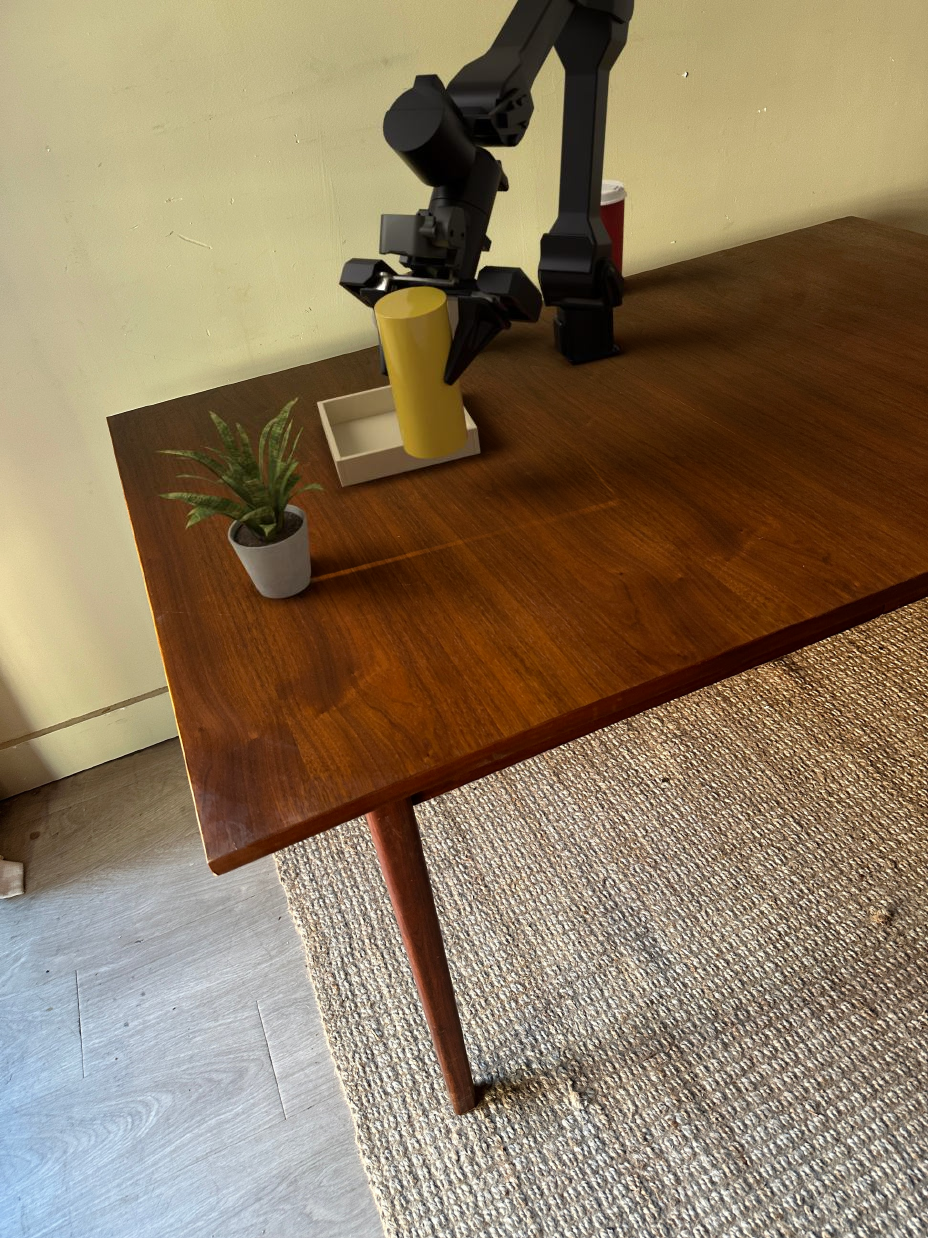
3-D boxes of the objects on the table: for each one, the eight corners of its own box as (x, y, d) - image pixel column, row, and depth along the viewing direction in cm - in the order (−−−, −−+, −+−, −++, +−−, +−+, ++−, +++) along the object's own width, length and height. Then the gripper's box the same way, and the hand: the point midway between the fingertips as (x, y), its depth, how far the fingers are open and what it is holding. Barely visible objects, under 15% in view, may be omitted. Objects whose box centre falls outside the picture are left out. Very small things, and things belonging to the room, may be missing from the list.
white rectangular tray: (447, 399, 110) (443, 372, 108) (481, 456, 98) (477, 427, 96) (323, 429, 108) (316, 401, 106) (343, 490, 97) (335, 461, 94)
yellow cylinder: (444, 416, 93) (420, 280, 83) (481, 439, 88) (460, 298, 79) (390, 441, 90) (360, 304, 81) (426, 466, 86) (398, 325, 77)
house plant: (265, 522, 94) (217, 372, 83) (384, 538, 89) (349, 380, 78) (182, 608, 84) (117, 450, 74) (311, 631, 79) (260, 465, 69)
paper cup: (637, 283, 131) (636, 178, 123) (614, 303, 127) (611, 196, 118) (588, 279, 135) (583, 177, 126) (564, 298, 130) (557, 194, 122)
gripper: (327, 165, 81) (282, 337, 81) (515, 165, 72) (465, 357, 72) (391, 228, 91) (351, 380, 91) (563, 234, 82) (519, 403, 82)
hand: (415, 380), depth 84 cm, fingers closed on yellow cylinder, 6 cm apart
